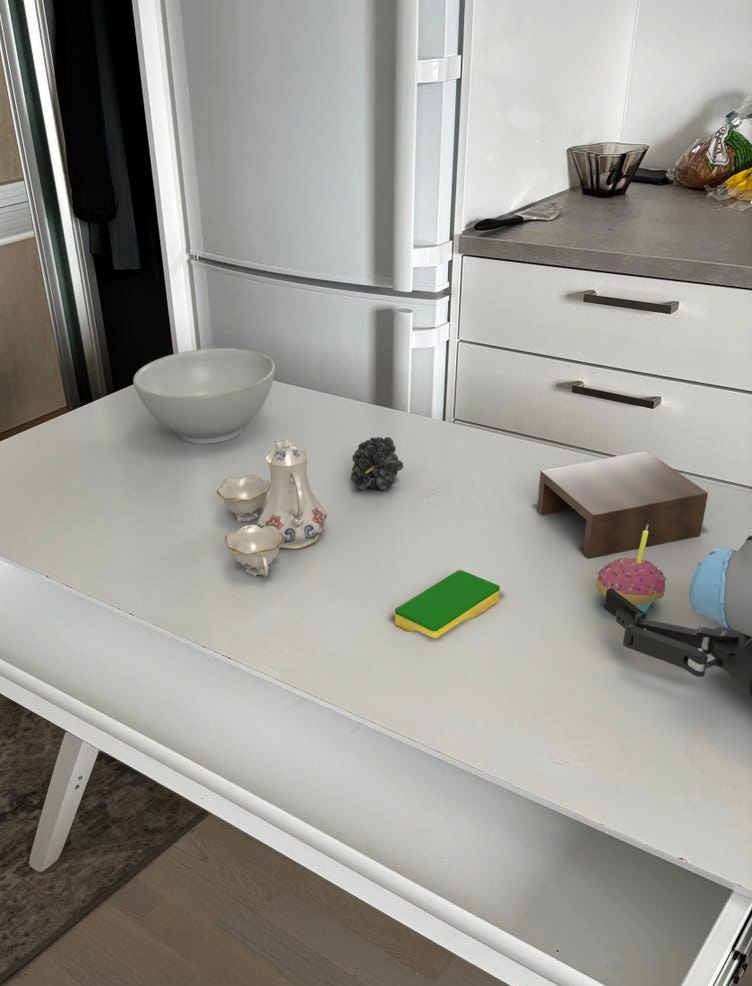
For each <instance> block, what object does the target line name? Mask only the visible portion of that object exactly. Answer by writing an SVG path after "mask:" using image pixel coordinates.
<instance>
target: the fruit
mask: <svg viewBox="0 0 752 986" xmlns="http://www.w3.org/2000/svg"><path fill="white" fill-rule="evenodd" d="M396 450H397V449H396V445H395V444H394V440H393V438H391V437H390V436H389V437H388V436H386V437H385V438H383V437H380V436H378V437H374V436H373V437H371V438H369V439H367V440H365V441H362V442H360V443H359V445H358V448H357V450H355V452H354V454H353V455H352V462H353V463H354V464H353V467H352V468H351V470H352V472H351V474H350V478H351V481H352V482H355V483H356V485H357V488H358V489H360V490H365V489H368V488H369V489H371V490H373V491H376V490H377V489H379V490H382V491H383V490H384V491H385V490H387V488H388V487H389V486H392V485H394V482H395V477H396V476H397V475H398V472H399V471H401V470H402V469H403V468H404V463H403V462H402V460H400V459H399V457H398V455H397V454H396V453H395V452H396Z"/></svg>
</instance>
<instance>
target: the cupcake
mask: <svg viewBox="0 0 752 986" xmlns="http://www.w3.org/2000/svg"><path fill="white" fill-rule="evenodd" d="M648 526H649V525H647V526H646V530H644V531H643V534H642V539H641V543H640V547H639V548H638V553H637V556H636V558H635V557H632V558H630V557H624V558H619V559H614V560H613V561H610V562H608V563H607V564H605V565H603V567H602V568H601V569H600V570H599V571H598V572H597V575H598V576H597V578H596V590H597V592H598V593H600V594H601V595H602V596H603V597H604V599H606V592H607V590H608V589H611V588H612V589H614V590H615V591H616V592H618V593H619V594H620V595H622V596H623V597H624V598H626V599H627V600H628V601H629V602H631V603H632V604H633V605H635V606H636V607H637V608H639V609H640V610H641V611H643V612H644V613H646V612H647V611H648V610H649V608H650V606H651V605H652V603H653V602H655V601H657V600H661V599H662V598H663V597H664V593H665V590H666V581H667V576H665V574H664V572H662V569H659V567H658V565H655V564H653V563H652V562H651V561H648V560H647V559H643V558H644V555H645V549H646V547H645V545H646V541H647V537H648V531H647V529H648Z"/></svg>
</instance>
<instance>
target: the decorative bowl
mask: <svg viewBox="0 0 752 986" xmlns="http://www.w3.org/2000/svg"><path fill="white" fill-rule="evenodd" d="M275 371H276V365H275V363H274V361H273V360H272V358H270V357H269V356H267V355H266V354H264V353H261V352H259V351H254V350H250V349H244V348H237V347H236V348H235V347H234V348H233V347H212V348H211V347H210V348H199V349H193V350H187V351H181V352H177V353H173V354H169V355H166V356H163V357H160V358H158V359H154V360H153V361H151V362H149V363H147V364H144V365H143V366H141V368H139V369H138V370H137V371H136V373H135V374H134V376H133V380H132V381H133V382H132V383H133V386H134V390H135V391H136V393H137V395H138V397H139V399H140V400H141V403H142V404H143V406H144V407H145V408H146V410H147V411H148V412H149V413H150V415H151V416H152V417H153V418H154V419H155V420H156V421H157V422H158V423H160V424H161V425H162V426H163V427H165V428H166V429H168V430H170V431H172V432H174V433H176V434H179V437H180V438H181V439H182V440H184V441H185V442H188V443H192V444H197V445H209V444H218V443H222V442H225V441H229V440H232V439H234V438H236V437H238V435H240V434H241V433H242V432H243V428H244V427H245V426H246V425H247V424H249V423H250V422H251V421H253V419H254V418H255V417H256V416H257V415H258V413H259V412H260V410H261V409H262V408H263V406H264V405H265V403H266V400H267V399H268V397H269V393H270V392H271V389H272V386H273V382H274V377H275V373H276V372H275Z"/></svg>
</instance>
